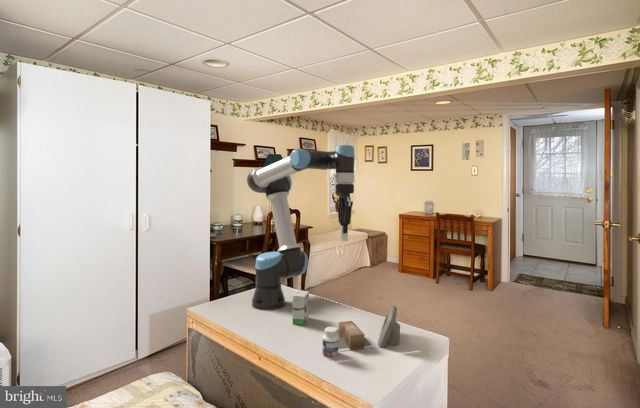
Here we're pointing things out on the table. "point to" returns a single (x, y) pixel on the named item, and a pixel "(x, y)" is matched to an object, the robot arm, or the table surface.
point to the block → (351, 335)
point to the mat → (343, 347)
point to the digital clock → (390, 329)
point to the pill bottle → (330, 343)
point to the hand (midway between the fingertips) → (344, 240)
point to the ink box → (300, 307)
